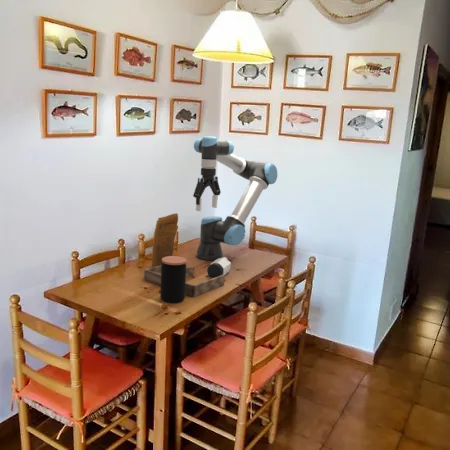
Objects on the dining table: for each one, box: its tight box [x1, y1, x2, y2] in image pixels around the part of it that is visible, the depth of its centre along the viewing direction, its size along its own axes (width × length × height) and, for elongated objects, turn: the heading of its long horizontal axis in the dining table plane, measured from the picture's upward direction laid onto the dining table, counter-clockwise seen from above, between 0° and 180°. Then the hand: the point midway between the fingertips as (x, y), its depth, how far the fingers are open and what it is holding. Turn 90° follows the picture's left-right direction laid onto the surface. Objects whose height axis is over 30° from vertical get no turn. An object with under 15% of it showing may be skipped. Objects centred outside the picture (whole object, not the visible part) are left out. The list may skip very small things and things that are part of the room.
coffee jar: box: [160, 255, 188, 304], centre depth 200 cm, size 11×11×18 cm
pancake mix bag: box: [151, 213, 179, 268], centre depth 244 cm, size 7×19×28 cm, turn 144°
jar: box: [206, 256, 232, 279], centre depth 237 cm, size 9×8×12 cm
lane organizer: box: [143, 265, 226, 298], centre depth 224 cm, size 22×32×5 cm
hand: (206, 209), depth 237 cm, fingers open, 13 cm apart
